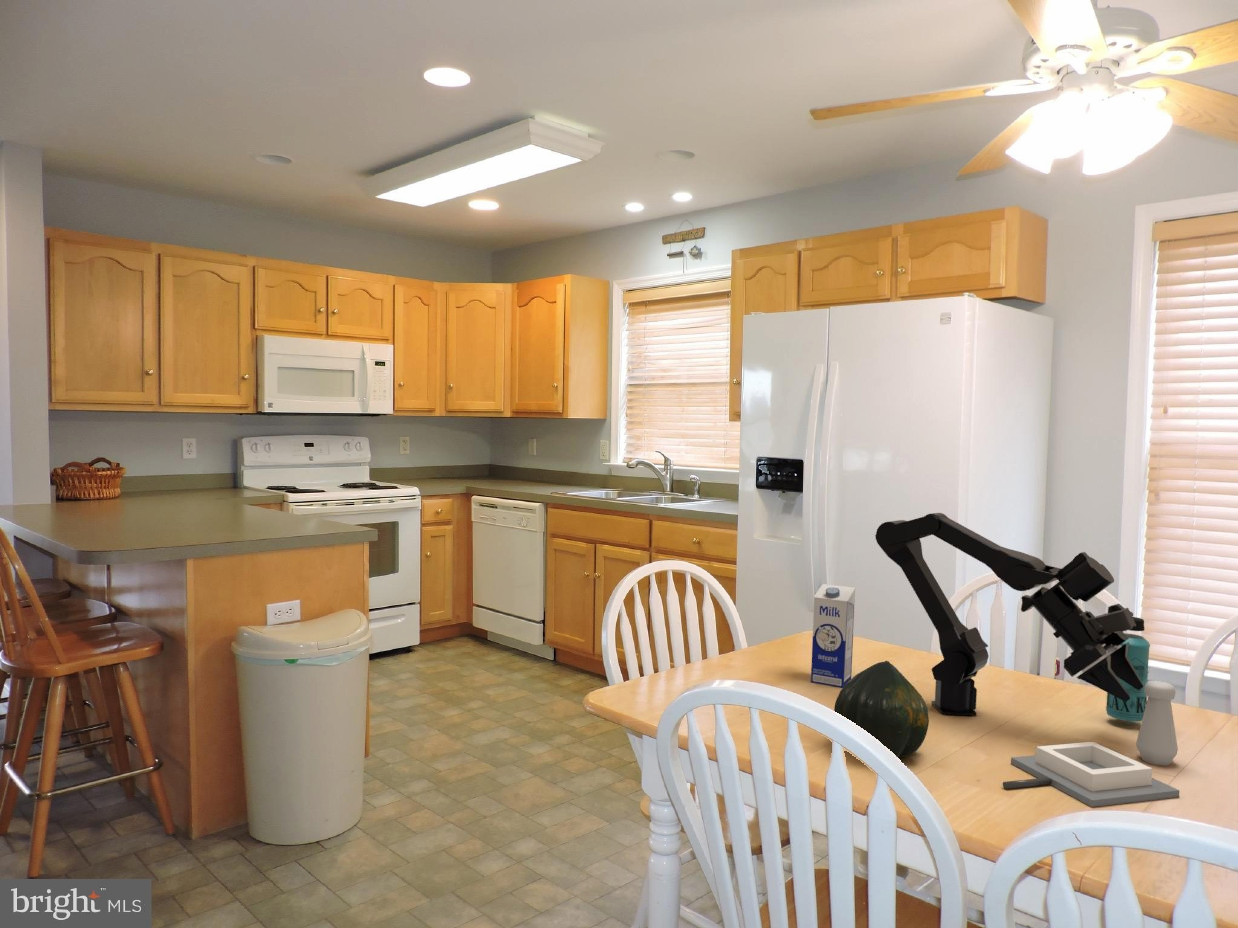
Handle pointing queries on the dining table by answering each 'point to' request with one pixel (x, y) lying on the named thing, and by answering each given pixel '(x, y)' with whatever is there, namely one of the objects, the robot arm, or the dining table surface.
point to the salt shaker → (1158, 725)
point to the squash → (886, 708)
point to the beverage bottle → (1138, 700)
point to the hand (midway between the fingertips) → (1135, 694)
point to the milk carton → (833, 635)
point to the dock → (1091, 774)
